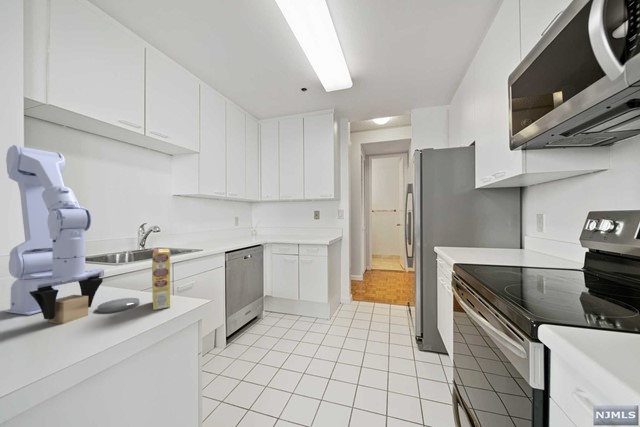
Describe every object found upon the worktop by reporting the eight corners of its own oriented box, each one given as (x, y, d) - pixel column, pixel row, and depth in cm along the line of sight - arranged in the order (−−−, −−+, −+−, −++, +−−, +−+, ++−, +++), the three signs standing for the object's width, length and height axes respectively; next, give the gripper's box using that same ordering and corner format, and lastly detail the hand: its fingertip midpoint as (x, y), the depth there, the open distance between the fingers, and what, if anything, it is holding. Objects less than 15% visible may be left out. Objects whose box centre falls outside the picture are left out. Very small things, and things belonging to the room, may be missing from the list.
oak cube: (48, 322, 59) (48, 301, 59) (73, 314, 63) (73, 294, 64) (63, 324, 57) (63, 302, 58) (88, 315, 62) (88, 295, 62)
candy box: (170, 307, 67) (170, 251, 68) (151, 311, 65) (152, 252, 65) (169, 298, 75) (169, 248, 75) (152, 301, 72) (152, 249, 73)
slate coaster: (88, 311, 65) (88, 307, 65) (122, 300, 74) (123, 296, 74) (114, 314, 63) (114, 310, 63) (147, 302, 72) (147, 298, 72)
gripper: (41, 262, 53) (40, 326, 52) (112, 253, 67) (112, 303, 67) (19, 261, 54) (18, 323, 54) (93, 252, 68) (92, 301, 68)
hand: (68, 312), depth 60 cm, fingers open, 7 cm apart
